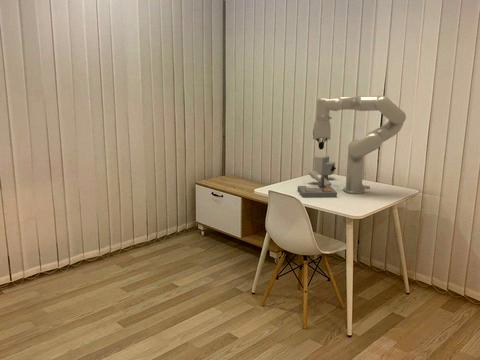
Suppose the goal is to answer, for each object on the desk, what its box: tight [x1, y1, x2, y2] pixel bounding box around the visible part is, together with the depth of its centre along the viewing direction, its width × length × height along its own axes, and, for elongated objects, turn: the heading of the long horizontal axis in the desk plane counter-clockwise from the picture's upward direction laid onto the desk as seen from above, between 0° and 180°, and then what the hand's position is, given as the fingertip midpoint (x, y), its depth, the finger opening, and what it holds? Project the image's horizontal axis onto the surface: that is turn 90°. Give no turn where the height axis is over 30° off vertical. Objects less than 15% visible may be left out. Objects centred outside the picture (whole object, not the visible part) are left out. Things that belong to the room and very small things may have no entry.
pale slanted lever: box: [307, 169, 332, 186], centre depth 305 cm, size 8×6×14 cm
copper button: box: [322, 188, 331, 192], centre depth 277 cm, size 4×4×3 cm
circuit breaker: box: [312, 154, 337, 179], centre depth 319 cm, size 8×14×15 cm, turn 57°
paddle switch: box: [317, 176, 326, 188], centre depth 284 cm, size 4×4×6 cm
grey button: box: [305, 185, 315, 192], centre depth 276 cm, size 4×4×3 cm
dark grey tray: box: [297, 185, 338, 199], centre depth 281 cm, size 20×16×3 cm
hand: (321, 149), depth 287 cm, fingers closed
